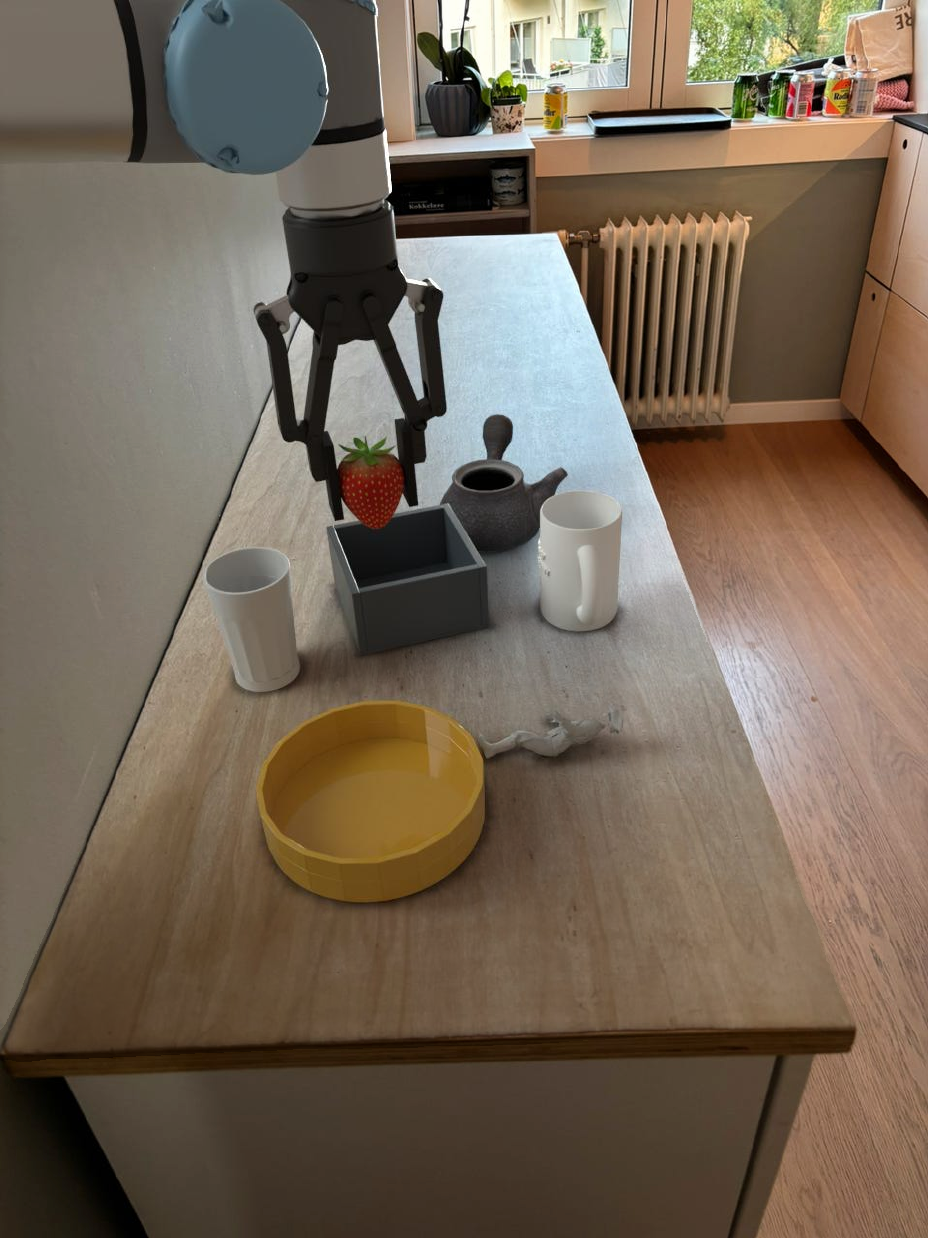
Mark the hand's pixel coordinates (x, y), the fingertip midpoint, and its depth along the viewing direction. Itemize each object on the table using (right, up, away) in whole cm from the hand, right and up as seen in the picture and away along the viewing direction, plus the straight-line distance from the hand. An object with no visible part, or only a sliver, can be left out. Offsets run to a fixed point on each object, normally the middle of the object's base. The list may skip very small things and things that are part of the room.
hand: (373, 504), depth 80 cm
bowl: (0, -25, +1) cm, 25 cm away
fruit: (0, -2, +1) cm, 2 cm away
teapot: (+12, +3, +40) cm, 41 cm away
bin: (+2, -8, +25) cm, 27 cm away
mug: (+19, -10, +22) cm, 31 cm away
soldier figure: (+15, -21, +6) cm, 26 cm away
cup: (-12, -15, +17) cm, 26 cm away
